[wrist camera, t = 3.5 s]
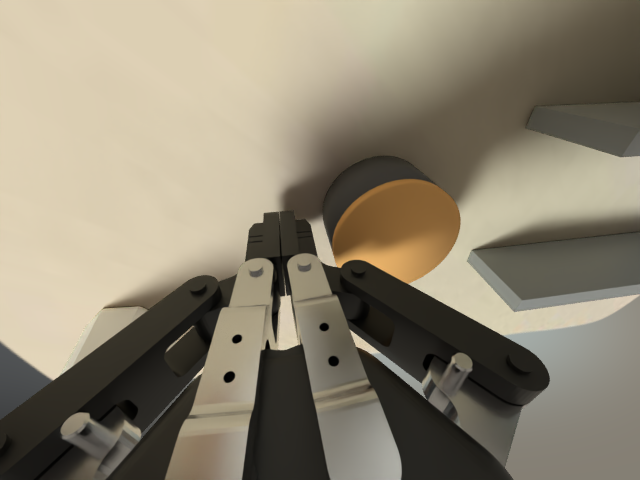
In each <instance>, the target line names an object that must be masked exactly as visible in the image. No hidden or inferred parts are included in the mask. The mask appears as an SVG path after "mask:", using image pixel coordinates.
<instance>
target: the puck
mask: <svg viewBox="0 0 640 480" xmlns="http://www.w3.org/2000/svg"><path fill="white" fill-rule="evenodd" d="M322 214H323V221H324V225H325V229H326V232H327V235H328V239H329V242H330V245H331V249H332V252H333V255H334V258H335V262H336V265H337V267H339V268H341V267H342V265H343V264H344V263H346V262H348V261H350V260H363V261H366V262H368V263H370V264H372V265H374V266H375V267H377V268H379V269H381V270H383V271H385V272H386V273H388V274H390V275H392V276H394V277H396V278H397V279H399V280H401V281H403V282H405V283H407V284H408V283H411V282H413V281H415V280H417V279H419V278H421V277H423V276H424V275H426V274H427V273H429V272H430V271H431V270H433V269H434V268H435V267H436V266H437V265H439V264H440V263H441V262H442V261H443V260H444V258H445V257H446V256H447V255H448V253H449V252H450V251H451V249H452V247H453V246H454V244H455V242H456V240H457V237H458V234H459V230H460V213H459V210H458V207H457V205H456V203H455V201H454V200H453V199H452V198H451V197H450V196H449V195H448V194H447V193H446V192H445V191H444V190H442V189H441V188H440V187H439V186H437V185H436V184H435V183H434V182H433V181H431V180H430V179H429V178H428V177H426V176H425V175H424V174H423V173H421V172H420V171H419V170H418V169H417V168H415V167H414V166H413V165H412V164H410V163H409V162H407V161H405V160H403V159H400V158H397V157H392V156H377V157H372V158H368V159H365V160H362V161H360V162H358V163H356V164H354V165H352V166H350V167H349V168H348V169H346V170H345V171H344V172H343V173H342V174H340V175H339V176H338V177H337V179H336V180H335V181H334V182H333V184H332V185H331V187H330V188H329V190H328V192H327V194H326V197H325V200H324V204H323V212H322Z"/></svg>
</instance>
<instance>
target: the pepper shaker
mask: <svg viewBox="0 0 640 480" xmlns="http://www.w3.org/2000/svg"><path fill="white" fill-rule="evenodd" d="M146 311H148V309H145V308H143V307H140V306H135V307H120V308H105V309H102V310H101V311H100V312H99V313H98V314H97V315H96V316H95V317H94V318H93V319H92V320H91V321H90V322H89V323H88V324H87V325H86V326H85V328H84V330H83V332H82V334H81V336H80V338H79V340H78V342H77V344H76V346H75V348H74V349H73V351H72V353H71V355H70V357H69V359H68V361H67V363H66V365H65V367H64V369H63V371H62V373H61V374H60V375H62V374H63V373H64V372H66V371H67V370H68V369H70V368H71V367H72V366H74V365H75V364H76V363H78V362H79V361H80V360H82V359H83V358H85V357H86V356H87V355H89V354H90V353H91V352H93V351H94V350H95V349H97V348H98V347H99V346H101V345H102V344H103V343H105V342H106V341H107V340H109V339H110V338H111V337H113V336H114V335H115V334H117V333H118V332H120V331H121V330H122V329H124V328H125V327H126V326H128V325H129V324H130V323H132V322H133V321H134V320H136V319H137V318H138V317H140V316H141V315H142V314H144V313H145V312H146ZM176 341H177V340H176ZM176 341H175V342H174V343H173V344H172V345H171V346H170V347H169V348H168V349H167V351H168V350H169V349H170V348H171V347H172V346H173V345H174V344H175V343H176ZM167 351H166V352H167ZM166 352H165V353H166Z"/></svg>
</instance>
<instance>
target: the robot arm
mask: <svg viewBox="0 0 640 480" xmlns="http://www.w3.org/2000/svg"><path fill="white" fill-rule="evenodd" d="M284 278H285V281H284ZM285 285H286V293H287V296H288V295H291V303H292V312H293V317H294V323H295V329H296V335H297V340H298V345H297V346H295V347H292V348H290V349H287V350H278V341H279V325H280V304H281V302H280V296H285ZM192 326H194V327H193V328H192V329H191V330H190V331H189V332H188V333H187V334H186V335H184V336H183V337H182V338H181V339H180V340H179V341H178V342H177V343H176V344H174V345H173V346H172V347H171V348H170V349H169V350H168V351H167V349H168V348H169V347H170V346H171V345H172V344H173V343H174V342H175V341H176V340H177V339H178V338H179V337H180V336H182V335H183V334H184V333H185V332H186V331H187V330H188V329H189V328H190V327H192ZM350 330H351V331H353V332H354V333H355V334H357V335H358V336H359V337H361V338H362V339H363V340H365V341H366V342H367V343H369V344H370V345H371V346H373V347H374V348H375V349H377V350H378V351H379V352H381V353H382V354H383V355H385V356H386V357H387V358H389V359H390V360H391V361H393V362H394V363H395V364H397V365H398V366H399V367H401V368H402V369H403V370H404V371H406V372H407V373H409V374H410V375H411V376H412V377H414V378H415V379H416V380H418V381H419V382H420V383H422V389H423V393H424V395H425V397H426V399H427V400H426V399H425V398H424V397H423V396H422V395H420V394H419V393H418V392H417V391H416V390H414V389H413V388H412V387H410V385H408V384H407V383H406V382H405V381H403V380H402V379H401V378H400V377H399V376H397V375H396V374H395V373H394V372H392V371H391V370H390V369H389V368H388V367H386V366H385V365H384V364H383V363H382V362H380V361H379V360H378V359H377V358H375V357H374V356H373V355H371V354H370V353H368V352H367V351H365V350H362V349H360V348H358V347H356V345H355V343H354V340H353V337H352V335H351V332H350ZM166 351H167V352H166ZM165 352H166V353H165ZM203 367H204V369H203V373H202V374H201V375H199V376H198V377H197V378H196V379H195V380H194V381H192V382H191V383H190V384H189V386H188V387H187V388H186V389H185V390H184V391H183V392H182V394H180V396H179V397H178V398H177V399H176V400H175V402H174V403H173V404H172V405H171V406H170V407H169V408H168V409H167V410H166V412H165V413H164V414H163V415H162V416H161V417H160V418H159V419H158V421H157V422H156V423H155V424H154V425H153V426H152V427H151V429H150V430H149V431H148V432H147V433H146V434H145V435H144V436H143V438H142V439H141V433H142V432H143V431H144V430H145V429H146V428H147V427H148V426H149V425H150V424H151V423H152V422H153V421H154V419H155V418H156V417H157V416H158V415H159V414H160V413H161V412H162V411H163V410H164V409H165V407H166V406H167V405H168V404H169V403H170V402H171V401H172V400H173V399H174V398H175V397H176V396H177V395H178V394H179V393H180V391H182V389H183V388H184V387H185V386H186V385H187V384H188V383H189V382H190V381H191V380H192V379H193V378H194V377H195V376H196V374H197V373H198V372H199V371H200V370H201V369H202V368H203ZM549 381H550V378H549V373H548V371H547V369H546V367H545V365H544V364H543V363H542V361H541V360H540V359H539V358H538V357H537V356H536V355H535V354H533V353H532V352H531V351H529V350H528V349H526V348H524V347H522V346H521V345H519V344H517V343H515V342H513V341H511V340H510V339H508V338H506V337H504V336H502V335H500V334H499V333H497V332H495V331H493V330H491V329H489V328H488V327H486V326H484V325H482V324H480V323H478V322H477V321H475V320H473V319H471V318H469V317H467V316H465V315H464V314H462V313H460V312H458V311H456V310H454V309H453V308H451V307H449V306H447V305H445V304H443V303H442V302H440V301H438V300H436V299H434V298H432V297H431V296H429V295H427V294H425V293H423V292H421V291H420V290H418V289H416V288H414V287H412V286H410V285H409V284H407V283H405V282H403V281H401V280H399V279H397V278H396V277H394V276H392V275H390V274H388V273H386V272H385V271H383V270H381V269H379V268H377V267H375V266H374V265H372V264H370V263H368V262H366V261H363V260H350V261H348V262H346V263H344V264H343V265H342V267H341V268H339V267H332V266H328V265H326V264H324V263H322V262H321V261H320V259H319V258H318V256H317V252H316V248H315V243H314V239H313V234H312V229H311V225H310V224H309V223H308V222H307V221H306V220H305V219H302V220H295V215H294V211H282V212H280V219H279V212H270V213H264V221H263V223H256V224H254V225H253V226H252V227H251V228H250V230H249V235H248V243H247V251H246V259H245V263H243V264H242V265H241V266H240V268H239V270H238V274H236V275H235V276H233V277H231V278H228V279H225V280H223V281H220V282H218V281H217V279H216V278H214V277H212V276H208V275H203V276H198V277H195V278H192V279H190V280H188V281H187V282H186V283H184V284H183V285H181V286H180V287H179V288H177V289H176V290H175V291H173V292H172V293H171V294H169V295H168V296H167V297H165V298H164V299H163V300H161V301H160V302H159V303H157V304H156V305H155V306H153V307H152V308H151V309H149V310H148V311H146V312H145V313H144V314H142V315H141V316H140V317H138V318H137V319H136V320H134V321H133V322H132V323H130V324H129V325H128V326H126V327H125V328H124V329H122V330H121V331H120V332H118V333H117V334H115V335H114V336H113V337H111V338H110V339H109V340H107V341H106V342H105V343H103V344H102V345H101V346H99V347H98V348H97V349H95V350H94V351H93V352H91V353H90V354H89V355H87V356H86V357H85V358H83V359H82V360H80V361H79V362H78V363H76V364H75V365H74V366H72V367H71V368H70V369H68V370H67V371H66V372H64V373H63V374H62V375H60V376H59V377H58V378H56V379H55V380H54V381H52V382H51V383H50V384H48V385H47V386H45V387H44V388H43V389H41V390H40V391H39V392H37V393H36V394H35V395H33V396H32V397H31V398H29V399H28V400H27V401H25V402H24V403H23V404H21V405H20V406H19V407H17V408H16V409H15V410H13V411H12V412H10V413H9V414H8V415H6V416H5V417H4V418H2V419H1V420H0V480H513V478H512V477H511V476H510V474H509V473H508V472H507V470H506V469H505V466H506V462H507V459H508V455H509V451H510V448H511V444H512V441H513V437H514V434H515V430H516V427H517V423H518V419H519V416H520V412H521V410H522V409H523V408H524V407H525V406H526V405H528V404H529V403H530V402H531V401H532V400H533V399H534V398H535V397H536V396H538V395H539V394H540V393H541V392H542V391H543V390H544V389H545V388H547V386H548V385H549ZM140 439H141V440H140Z"/></svg>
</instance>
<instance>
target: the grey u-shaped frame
mask: <svg viewBox="0 0 640 480" xmlns="http://www.w3.org/2000/svg"><path fill="white" fill-rule="evenodd" d="M526 128H527V129H530V130H534V131H537V132H540V133H544V134H547V135H550V136H553V137H557V138H560V139H563V140H566V141H570V142H573V143H576V144H580V145H583V146H586V147H589V148H593V149H596V150H599V151H602V152H606V153H609V154H612V155H615V156H619V157H631V156H640V102H623V103H599V104H575V105H551V106H535V108H534V110H533V112H532V115H531V117H530V119H529V121H528V124H527V126H526ZM468 263H469V264H470V265H471V266H472V267H473V268H474V269H475V270H476V271H477V272H478V273H479V274H480V276H481V277H482V278H483V279H484V280H485V281H486V282H487V283H488V284H489V285H490V286H491V287H492V288H493V290H494V291H495V292H496V293H497V294H498V295H499V296H500V297H501V298H502V299H503V300H504V301H505V303H506V304H507V305H508V306H509V307H510V308H511V309H512V310H513V311H514V312H517V311H524V310H531V309H538V308H545V307H552V306H559V305H566V304H573V303H580V302H587V301H594V300H601V299H608V298H615V297H623V296H630V295H637V294H640V232H634V233H625V234H616V235H607V236H598V237H589V238H580V239H571V240H561V241H552V242H543V243H534V244H525V245H516V246H507V247H498V248H489V249H479V250H472V251H471V254H470V256H469V258H468Z"/></svg>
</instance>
